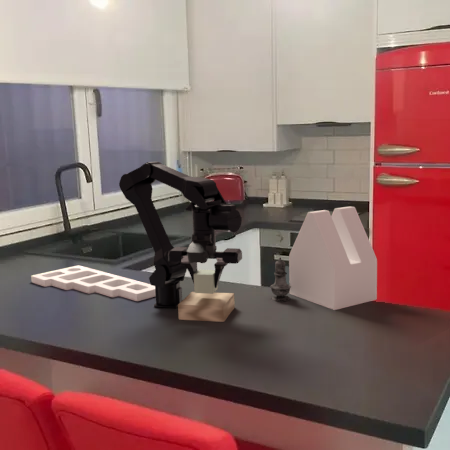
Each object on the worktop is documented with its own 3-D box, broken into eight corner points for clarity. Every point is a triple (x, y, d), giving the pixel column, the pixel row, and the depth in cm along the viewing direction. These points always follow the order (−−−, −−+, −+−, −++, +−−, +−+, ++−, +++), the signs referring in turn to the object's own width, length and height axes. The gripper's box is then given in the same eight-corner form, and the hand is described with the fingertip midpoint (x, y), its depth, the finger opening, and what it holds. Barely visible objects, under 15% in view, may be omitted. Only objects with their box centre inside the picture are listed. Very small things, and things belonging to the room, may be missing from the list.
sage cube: (194, 293, 163) (193, 274, 162) (199, 287, 167) (199, 269, 167) (212, 293, 161) (212, 275, 161) (217, 288, 166) (217, 270, 165)
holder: (161, 296, 185) (161, 287, 184) (111, 310, 172) (110, 301, 172) (79, 272, 216) (78, 265, 216) (31, 283, 204) (30, 275, 203)
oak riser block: (178, 319, 161) (178, 304, 161) (192, 305, 173) (191, 291, 172) (223, 321, 158) (223, 306, 158) (234, 307, 170) (234, 293, 169)
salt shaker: (274, 302, 173) (273, 260, 171) (267, 296, 179) (266, 255, 176) (294, 300, 174) (293, 258, 172) (286, 294, 180) (286, 254, 178)
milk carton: (376, 299, 173) (377, 210, 168) (334, 310, 165) (334, 216, 161) (330, 285, 189) (329, 203, 185) (289, 294, 181) (288, 208, 177)
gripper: (159, 234, 156) (162, 294, 159) (231, 235, 152) (233, 297, 154) (173, 226, 167) (176, 282, 169) (241, 227, 162) (243, 285, 165)
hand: (206, 287), depth 164 cm, fingers closed on sage cube, 5 cm apart
